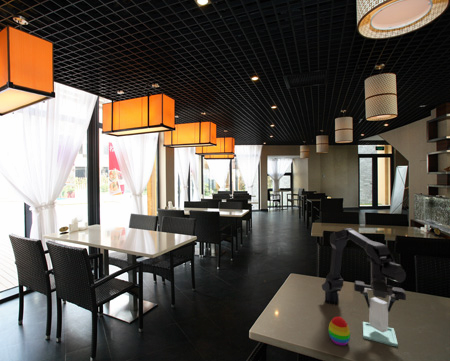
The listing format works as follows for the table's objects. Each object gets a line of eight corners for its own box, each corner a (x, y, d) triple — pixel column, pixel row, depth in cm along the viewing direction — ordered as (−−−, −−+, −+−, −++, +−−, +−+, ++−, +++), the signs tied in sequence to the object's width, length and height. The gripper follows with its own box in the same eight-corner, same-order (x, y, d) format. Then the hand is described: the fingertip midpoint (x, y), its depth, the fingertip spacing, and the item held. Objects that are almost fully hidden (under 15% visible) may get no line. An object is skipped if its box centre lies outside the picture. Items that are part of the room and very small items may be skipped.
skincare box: (388, 330, 106) (389, 302, 106) (381, 333, 104) (383, 304, 104) (374, 323, 112) (375, 296, 112) (367, 325, 110) (369, 298, 110)
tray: (363, 338, 105) (363, 335, 105) (362, 324, 116) (362, 321, 116) (397, 347, 100) (397, 344, 100) (393, 331, 110) (393, 328, 110)
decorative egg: (324, 340, 104) (324, 316, 104) (334, 333, 109) (334, 310, 109) (343, 350, 98) (343, 325, 98) (353, 342, 103) (353, 318, 103)
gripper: (354, 275, 105) (354, 312, 105) (408, 284, 97) (408, 324, 97) (354, 267, 115) (354, 301, 115) (403, 275, 106) (403, 311, 106)
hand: (378, 309), depth 108 cm, fingers closed on skincare box, 7 cm apart
